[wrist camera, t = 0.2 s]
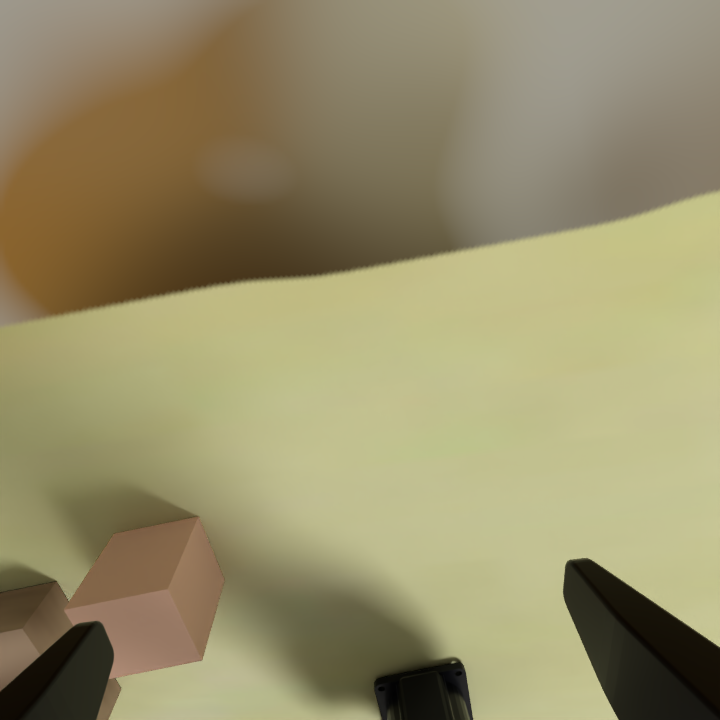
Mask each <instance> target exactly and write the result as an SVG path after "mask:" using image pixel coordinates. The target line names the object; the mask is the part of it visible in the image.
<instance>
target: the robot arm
mask: <svg viewBox="0 0 720 720" xmlns="http://www.w3.org/2000/svg"><path fill="white" fill-rule="evenodd" d="M563 595H564V600H565V603H566V606H567V608H568V610H569V613H570V615H571V617H572V620H573V622H574V624H575V627H576V629H577V631H578V634H579V636H580V638H581V640H582V643H583V645H584V647H585V650H586V652H587V654H588V657H589V659H590V661H591V664H592V666H593V668H594V671H595V673H596V675H597V678H598V680H599V682H600V684H601V686H602V689H603V691H604V693H605V695H606V697H607V699H608V701H609V703H610V704H611V706H612V708H613V710H614V712H615V714H616V716H617V718H618V719H619V720H720V647H719V646H717V645H716V644H714V643H713V642H711V641H710V640H708V639H707V638H705V637H704V636H703V635H701V634H700V633H698V632H697V631H695V630H694V629H692V628H691V627H689V626H688V625H686V624H685V623H683V622H682V621H681V620H679V619H678V618H676V617H675V616H673V615H672V614H670V613H669V612H667V611H666V610H664V609H663V608H661V607H660V606H659V605H657V604H656V603H654V602H653V601H651V600H650V599H648V598H647V597H645V596H644V595H642V594H641V593H639V592H638V591H636V590H635V589H634V588H632V587H631V586H629V585H628V584H626V583H625V582H623V581H622V580H620V579H619V578H617V577H616V576H614V575H613V574H612V573H610V572H609V571H607V570H606V569H604V568H603V567H601V566H600V565H598V564H597V563H595V562H594V561H592V560H590V559H588V558H581V559H573V560H569V561H567V563H566V566H565V575H564V586H563ZM113 662H114V650H113V647H112V644H111V642H110V640H109V637H108V635H107V633H106V630H105V628H104V626H103V624H102V623H101V622H100V621H90V622H82V623H78V624H76V625H74V626H73V627H72V628H70V629H69V630H68V631H67V632H66V633H65V634H64V635H63V636H61V637H60V638H59V639H58V640H57V641H56V642H55V643H54V644H52V645H51V646H50V647H49V648H48V649H47V650H46V651H45V652H44V653H42V654H41V655H40V656H39V657H38V658H37V659H36V660H35V661H33V662H32V663H31V664H30V665H29V666H28V667H27V668H26V669H25V670H23V671H22V672H21V673H20V674H19V675H18V676H17V677H16V678H14V679H13V680H12V681H11V682H10V683H9V684H8V685H7V686H6V687H4V688H3V689H2V690H1V691H0V720H97V717H98V713H99V710H100V706H101V703H102V700H103V696H104V693H105V690H106V686H107V683H108V680H109V676H110V673H111V669H112V666H113ZM374 690H375V694H376V697H377V701H378V705H379V708H380V712H381V716H382V719H383V720H473V717H472V710H471V704H470V697H469V691H468V684H467V678H466V672H465V668H464V665H463V664H462V663H454V664H449V665H444V666H439V667H434V668H429V669H424V670H419V671H414V672H409V673H404V674H399V675H394V676H389V677H384V678H379V679H377V680H375V682H374Z"/></svg>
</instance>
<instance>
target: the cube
mask: <svg viewBox="0 0 720 720" xmlns="http://www.w3.org/2000/svg"><path fill="white" fill-rule="evenodd" d="M224 581H225V579H224V577H223V574H222V572H221V570H220V567H219V565H218V562H217V560H216V557H215V555H214V553H213V550H212V548H211V545H210V543H209V540H208V538H207V535H206V533H205V531H204V528H203V526H202V523H201V521H200V518H199V516H198V517H193V518H188V519H183V520H178V521H173V522H168V523H164V524H159V525H154V526H149V527H144V528H139V529H134V530H129V531H124V532H119V533H114V534H113V536H112V537H111V539H110V540H109V542H108V543H107V545H106V546H105V548H104V549H103V551H102V552H101V554H100V555H99V557H98V559H97V560H96V562H95V563H94V565H93V566H92V568H91V569H90V571H89V572H88V574H87V575H86V577H85V578H84V580H83V581H82V583H81V584H80V586H79V587H78V589H77V590H76V592H75V594H74V595H73V597H72V598H71V600H70V601H69V603H68V604H67V606H66V607H65V609H64V611H65V613H66V615H67V616H68V618H69V620H70V621H71V623H72V624H73V626H74V625H76V624H78V623H82V622H90V621H100V622H101V623H102V624H103V626H104V628H105V630H106V633H107V635H108V637H109V640H110V642H111V644H112V647H113V650H114V662H113V666H112V669H111V673H110V676H109V679H112V678H117V677H122V676H127V675H132V674H137V673H142V672H147V671H152V670H157V669H162V668H167V667H172V666H177V665H182V664H187V663H192V662H197V661H202V659H203V656H204V652H205V648H206V645H207V641H208V638H209V634H210V631H211V627H212V624H213V620H214V617H215V613H216V609H217V606H218V602H219V599H220V595H221V592H222V588H223V585H224Z"/></svg>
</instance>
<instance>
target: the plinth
mask: <svg viewBox="0 0 720 720" xmlns="http://www.w3.org/2000/svg"><path fill="white" fill-rule="evenodd" d="M68 603H69V601H68V600H67V598H66V597H65V595H64V593H63V592H62V590H61V588H60V587H59V585H58V583H57V582H51V583H46V584H41V585H36V586H32V587H27V588H22V589H17V590H12V591H7V592H2V593H0V691H1V690H2V689H3V688H4V687H6V686H7V685H8V684H9V683H10V682H11V681H12V680H13V679H14V678H16V677H17V676H18V675H19V674H20V673H21V672H22V671H23V670H25V669H26V668H27V667H28V666H29V665H30V664H31V663H32V662H33V661H35V660H36V659H37V658H38V657H39V656H40V655H41V654H42V653H44V652H45V651H46V650H47V649H48V648H49V647H50V646H51V645H52V644H54V643H55V642H56V641H57V640H58V639H59V638H60V637H61V636H63V635H64V634H65V633H66V632H67V631H68V630H69V629H70V628H72V627H73V624H72V623H71V621H70V620H69V618H68V616H67V615H66V613H65V611H64V609H65V607H66V606H67V604H68ZM120 691H121V688H120V686H119V684H118V683H117V681H116V679H115V678H112V679H109V680H108V683H107V686H106V690H105V693H104V696H103V700H102V703H101V706H100V710H99V713H98V717H97V720H108V719H109V717H110V714H111V712H112V710H113V707H114V705H115V703H116V700H117V698H118V696H119V693H120Z"/></svg>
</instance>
